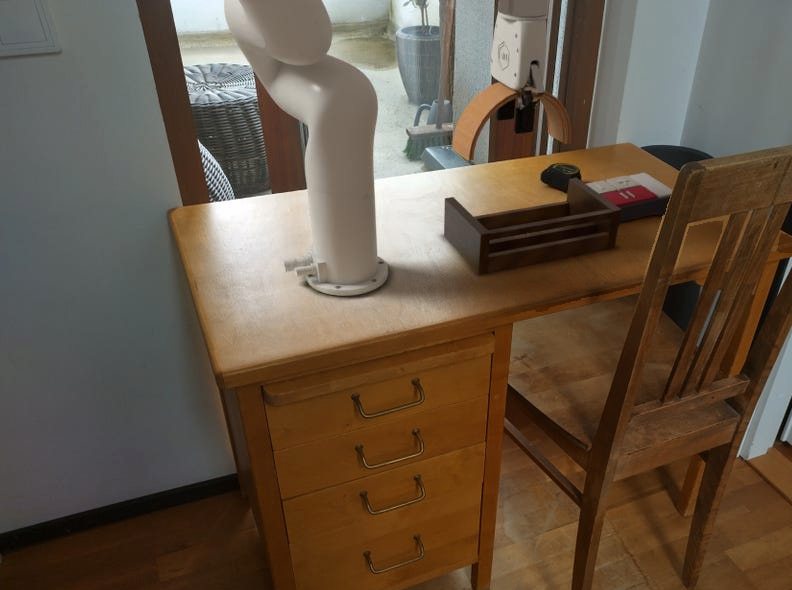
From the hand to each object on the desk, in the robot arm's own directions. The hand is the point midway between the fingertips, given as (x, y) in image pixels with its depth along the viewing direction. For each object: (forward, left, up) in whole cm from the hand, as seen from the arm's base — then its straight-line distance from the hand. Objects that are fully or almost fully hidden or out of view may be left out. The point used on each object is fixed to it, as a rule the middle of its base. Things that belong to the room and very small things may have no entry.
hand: (514, 124), depth 117 cm
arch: (0, 0, -4) cm, 4 cm away
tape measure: (+17, +10, -18) cm, 26 cm away
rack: (0, -8, -17) cm, 19 cm away
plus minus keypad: (+24, -2, -18) cm, 30 cm away
